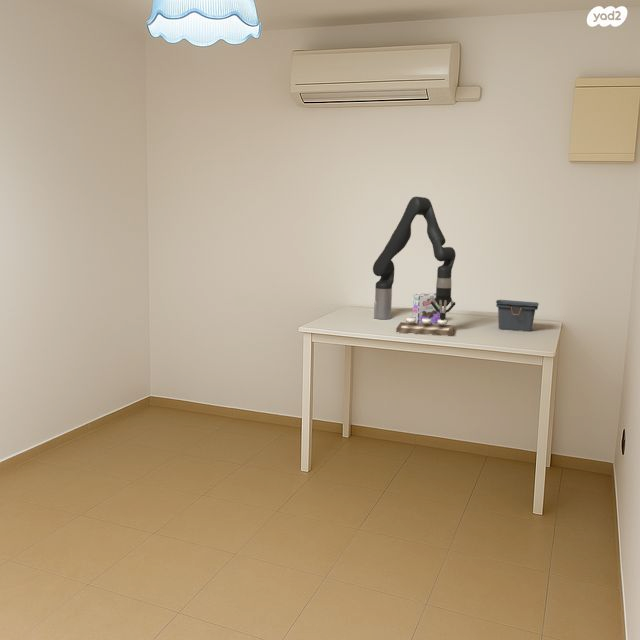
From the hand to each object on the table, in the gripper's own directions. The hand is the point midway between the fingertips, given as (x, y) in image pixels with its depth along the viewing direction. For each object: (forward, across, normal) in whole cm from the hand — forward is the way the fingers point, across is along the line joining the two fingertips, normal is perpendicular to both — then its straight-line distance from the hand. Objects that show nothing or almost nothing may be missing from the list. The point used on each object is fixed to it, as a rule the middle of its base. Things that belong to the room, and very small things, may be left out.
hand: (442, 320), depth 344 cm
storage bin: (+6, -37, -16) cm, 41 cm away
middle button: (+2, +8, 0) cm, 8 cm away
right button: (+2, 0, 0) cm, 2 cm away
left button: (+2, +16, 0) cm, 16 cm away
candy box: (+6, +10, -20) cm, 23 cm away
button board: (+6, +8, +3) cm, 10 cm away
